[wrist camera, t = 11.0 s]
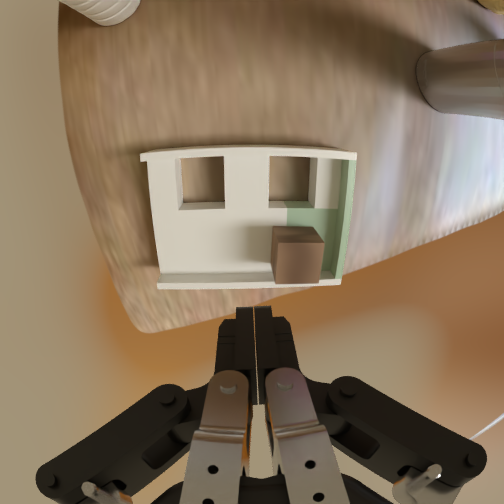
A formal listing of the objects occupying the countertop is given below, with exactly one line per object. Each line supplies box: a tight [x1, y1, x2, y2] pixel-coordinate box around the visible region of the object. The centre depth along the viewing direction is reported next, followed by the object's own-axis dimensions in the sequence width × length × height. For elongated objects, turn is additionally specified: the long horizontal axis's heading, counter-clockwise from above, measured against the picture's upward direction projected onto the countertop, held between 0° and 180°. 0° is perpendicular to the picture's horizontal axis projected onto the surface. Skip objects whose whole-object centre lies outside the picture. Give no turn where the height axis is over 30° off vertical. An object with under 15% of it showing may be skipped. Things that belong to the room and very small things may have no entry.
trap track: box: [140, 145, 357, 289], centre depth 29 cm, size 21×15×5 cm
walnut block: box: [270, 226, 325, 284], centre depth 28 cm, size 4×4×4 cm
